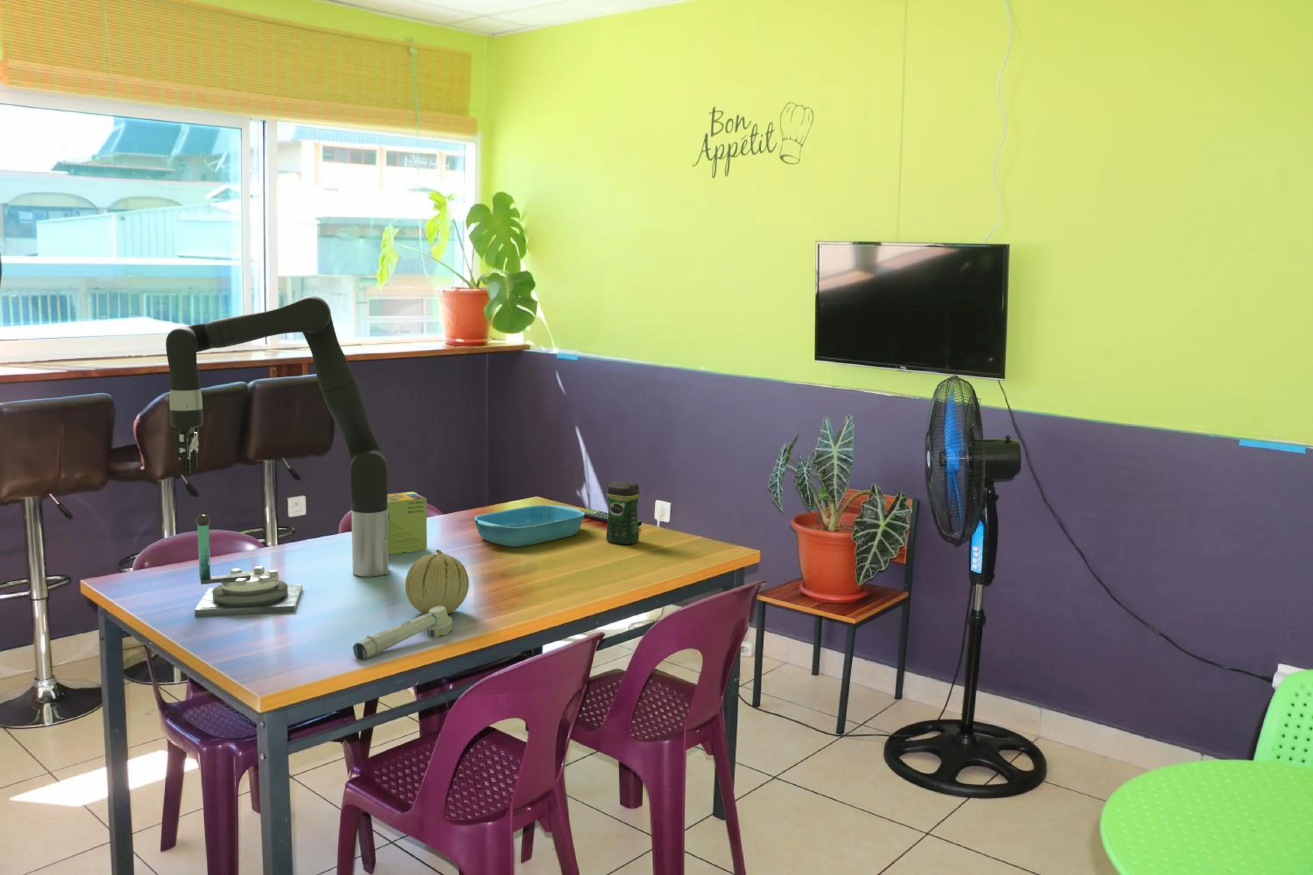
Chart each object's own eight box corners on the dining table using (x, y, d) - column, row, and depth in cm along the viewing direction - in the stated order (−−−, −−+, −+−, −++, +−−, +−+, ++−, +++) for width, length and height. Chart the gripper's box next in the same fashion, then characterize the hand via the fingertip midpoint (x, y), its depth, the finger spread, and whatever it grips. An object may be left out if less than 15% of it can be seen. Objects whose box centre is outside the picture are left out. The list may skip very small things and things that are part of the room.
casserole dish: (549, 521, 354) (549, 500, 353) (598, 533, 340) (598, 511, 339) (459, 540, 327) (459, 517, 326) (508, 554, 312) (508, 530, 311)
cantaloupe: (412, 626, 247) (411, 563, 245) (400, 608, 260) (399, 547, 258) (475, 619, 253) (475, 557, 251) (461, 601, 266) (460, 542, 264)
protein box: (427, 550, 314) (427, 497, 312) (376, 556, 306) (375, 503, 303) (414, 542, 323) (413, 491, 321) (363, 548, 314) (362, 496, 312)
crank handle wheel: (274, 578, 270) (272, 503, 267) (282, 592, 259) (280, 514, 256) (196, 586, 262) (193, 509, 259) (201, 601, 250) (198, 520, 248)
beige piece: (349, 639, 227) (439, 597, 246) (353, 668, 229) (442, 624, 248) (365, 645, 224) (455, 602, 243) (369, 674, 226) (458, 629, 245)
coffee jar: (642, 541, 330) (644, 481, 328) (629, 546, 324) (630, 485, 321) (615, 536, 335) (616, 477, 332) (601, 541, 328) (602, 481, 326)
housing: (302, 589, 273) (302, 576, 272) (294, 611, 256) (294, 597, 255) (209, 593, 268) (208, 579, 268) (194, 616, 251) (194, 601, 250)
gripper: (196, 410, 266) (199, 475, 268) (207, 403, 279) (210, 465, 282) (163, 411, 264) (166, 476, 267) (176, 403, 278) (179, 466, 280)
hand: (189, 470), depth 274 cm, fingers open, 8 cm apart
